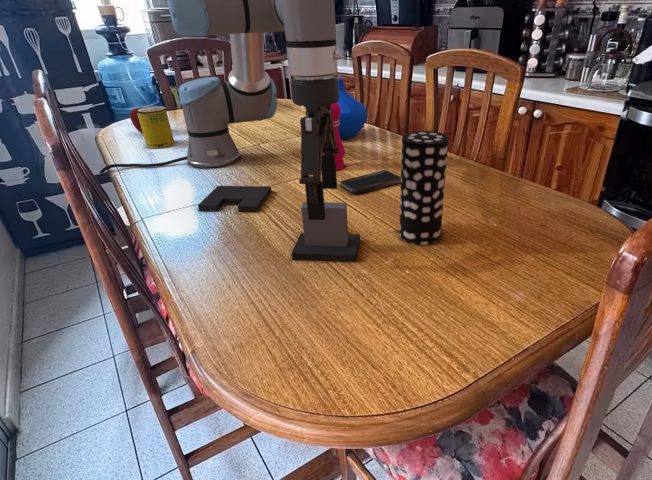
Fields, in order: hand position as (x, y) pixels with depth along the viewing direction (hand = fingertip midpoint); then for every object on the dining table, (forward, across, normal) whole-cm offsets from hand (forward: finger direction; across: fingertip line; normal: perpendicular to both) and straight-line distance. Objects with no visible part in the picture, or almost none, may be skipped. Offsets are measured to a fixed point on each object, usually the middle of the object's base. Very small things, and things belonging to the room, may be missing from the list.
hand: (324, 202), depth 75 cm
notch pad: (+10, +22, +26) cm, 36 cm away
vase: (+10, +80, +8) cm, 81 cm away
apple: (+9, +82, +82) cm, 117 cm away
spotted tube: (+10, +7, -18) cm, 22 cm away
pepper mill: (+10, +47, +6) cm, 49 cm away
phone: (+10, +34, -6) cm, 36 cm away
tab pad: (+10, +2, 0) cm, 10 cm away
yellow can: (+10, +68, +70) cm, 98 cm away
